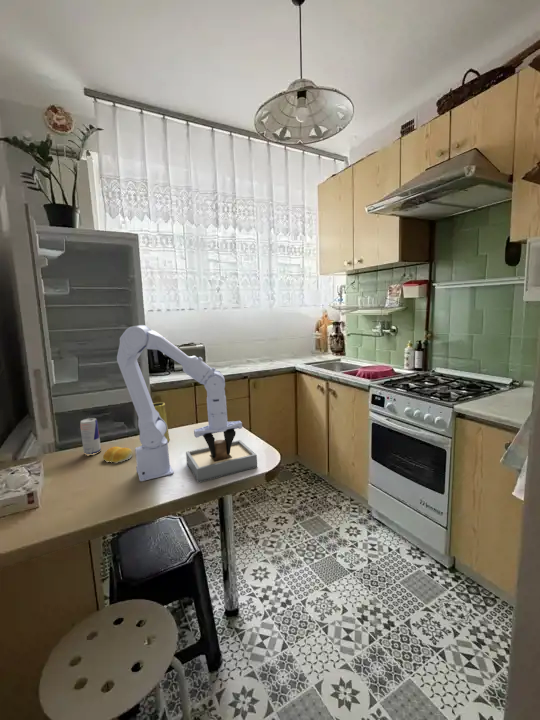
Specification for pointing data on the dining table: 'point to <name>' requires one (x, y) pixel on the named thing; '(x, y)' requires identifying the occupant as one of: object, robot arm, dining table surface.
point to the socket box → (220, 462)
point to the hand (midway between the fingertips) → (220, 454)
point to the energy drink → (90, 435)
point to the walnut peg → (220, 450)
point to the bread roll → (117, 454)
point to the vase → (162, 415)
